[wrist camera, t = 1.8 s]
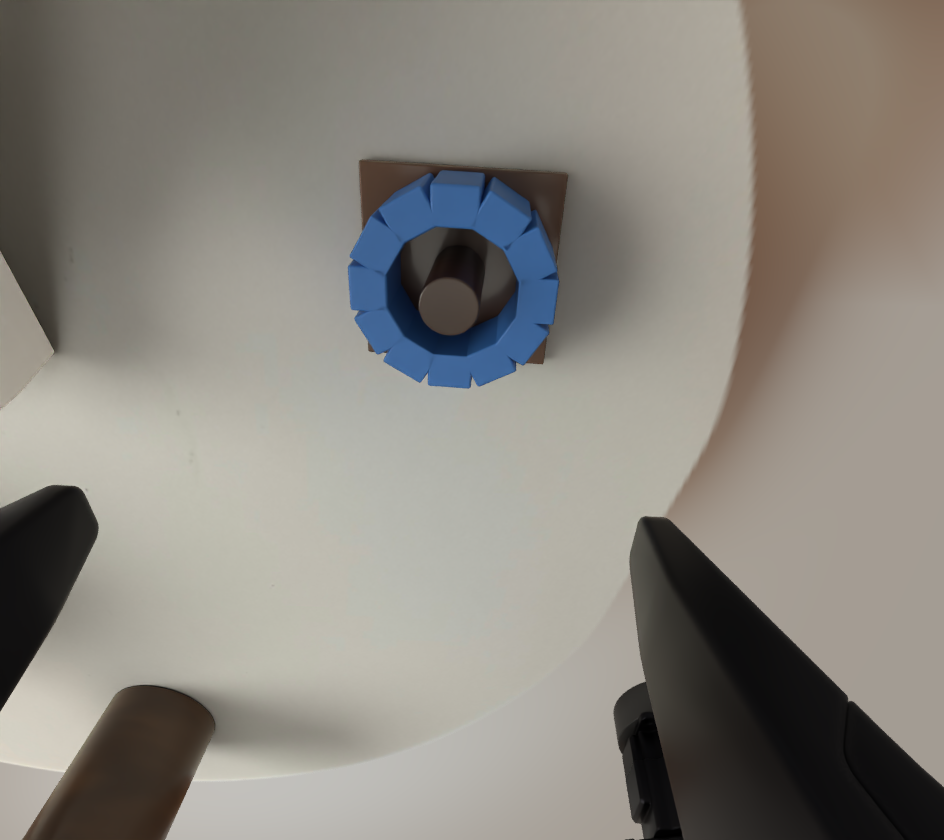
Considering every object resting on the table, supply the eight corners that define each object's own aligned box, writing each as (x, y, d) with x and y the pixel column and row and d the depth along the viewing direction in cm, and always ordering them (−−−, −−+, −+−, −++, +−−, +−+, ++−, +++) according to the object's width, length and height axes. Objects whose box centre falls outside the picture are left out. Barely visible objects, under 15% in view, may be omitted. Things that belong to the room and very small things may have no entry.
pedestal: (204, 690, 34) (84, 928, 25) (223, 748, 38) (125, 976, 28) (98, 680, 35) (-61, 914, 25) (128, 739, 38) (-2, 963, 28)
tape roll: (564, 177, 18) (571, 191, 15) (540, 362, 21) (544, 394, 19) (361, 164, 18) (341, 176, 16) (370, 349, 21) (354, 380, 19)
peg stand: (567, 172, 18) (579, 194, 14) (542, 360, 21) (548, 412, 18) (361, 158, 18) (326, 178, 15) (370, 347, 21) (344, 397, 18)
